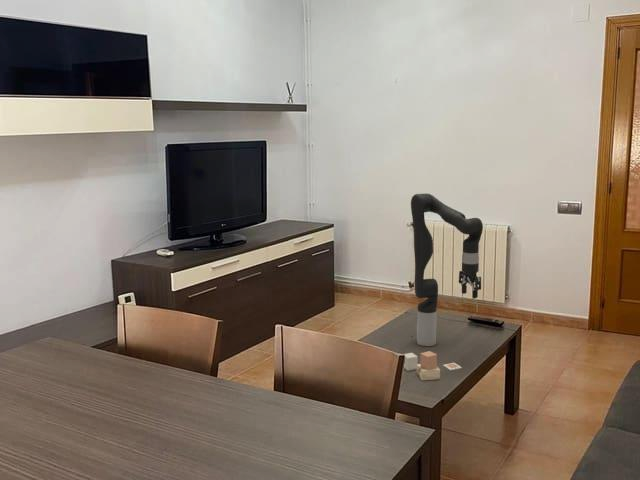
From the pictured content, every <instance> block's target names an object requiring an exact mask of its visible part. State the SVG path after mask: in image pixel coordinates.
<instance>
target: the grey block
mask: <svg viewBox="0 0 640 480" xmlns="http://www.w3.org/2000/svg"><path fill="white" fill-rule="evenodd" d="M403 354H404V355H405V364H404V369H405V370H406V371H408V372H409V371H414V370H417V364H419V363H418V361H419V360H418V359H419V358H418V356H417V355H416V354H415V353H413V352H409V353H403Z"/></svg>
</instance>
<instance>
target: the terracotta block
mask: <svg viewBox="0 0 640 480" xmlns="http://www.w3.org/2000/svg"><path fill="white" fill-rule="evenodd" d="M420 364H421V367H423V368H425V369H427V370H430V369H434V368H437V367H438V354H437V353H435V352H432V351H430V350H428V351H425V352H420Z"/></svg>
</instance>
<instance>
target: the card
mask: <svg viewBox="0 0 640 480" xmlns="http://www.w3.org/2000/svg"><path fill="white" fill-rule="evenodd" d="M442 366H443V367H444V368H446V369H448V370H449V371H454V370H455V371H456V370H459V369H462V366H460V365H459V364H457V363H455V362H451V363H446V364H443V365H442Z"/></svg>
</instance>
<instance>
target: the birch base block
mask: <svg viewBox="0 0 640 480" xmlns="http://www.w3.org/2000/svg"><path fill="white" fill-rule="evenodd" d="M416 374H417V375H418V377H419V378H420V380H421V381H430V380H440V379H441V369H440V368H439V367H438V366H437V368H434V369H430V370H427V369H425V368H423V367H421V363H418V364H417V369H416Z"/></svg>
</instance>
